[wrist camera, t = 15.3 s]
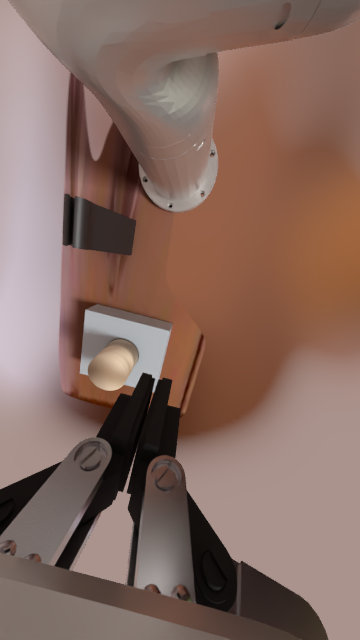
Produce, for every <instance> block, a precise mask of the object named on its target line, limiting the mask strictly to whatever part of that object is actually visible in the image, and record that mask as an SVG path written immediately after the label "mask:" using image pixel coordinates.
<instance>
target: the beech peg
mask: <svg viewBox="0 0 360 640" xmlns="http://www.w3.org/2000/svg"><path fill="white" fill-rule="evenodd" d="M138 359H139V351H138V349H137V347H136V345H135V344H134V343H133V342H131V341H130V340H128V339H125V338H117V339H114V340H112V341H111V342H110V343H109V344H108V345H107V346H106V347H105V348H104V349H103V350H102V351H101V352H100V353H99V354H98V355H97V356H96V357H95V358H94V359H93V360H92V361H91V362H90V363H89V366H88V375H89V378H90V380H91V381H92V382H93V383H94V384H95V385H96V386H97V387H99V388H101V389H104V390H109V391H112V390H117V389H119V388H121V387H122V386H123V385H124V383H125V382H126V380H127V378H128V376H129V375H130V373H131V371H132V370H133V368H134V366H135V364H136V363H137V361H138Z"/></svg>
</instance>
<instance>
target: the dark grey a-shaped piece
mask: <svg viewBox="0 0 360 640" xmlns="http://www.w3.org/2000/svg"><path fill="white" fill-rule="evenodd" d="M135 225H136V221H135V220H133V219H130V218H128V217H125V216H123V215H120V214H118V213H115V212H113V211H111V210H108V209H106V208H103V207H101V206H98V205H96V204H94V203H92V202H90V201H88V200H86V199H83V198H80V197H77V196H75V198H72V197H70V195H69V194H65V197H64V224H63V245H65V246H68V245H72V247H74V248H79V249H85V250H96V251H103V252H110V253H117V254H125V255H131V253H132V246H133V239H134V232H135Z"/></svg>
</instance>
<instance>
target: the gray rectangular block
mask: <svg viewBox="0 0 360 640" xmlns="http://www.w3.org/2000/svg"><path fill="white" fill-rule="evenodd" d="M172 324H173V323H170V322H166V321H162V320H158V319H154V318H150V317H146V316H142V315H138V314H134V313H130V312H127V311H123V310H119V309H115V308H111V307H107V306H103V305H99V304H96V305H94V306H92V307H90V308H88V309H86V310H85V320H84V331H83V343H82V354H81V366H80V373H81V374H85V375H88V366H89V363H90V362H91V361H92V360H93V359H94V358H95V357H96V356H97V355H98V354H99V353H100V352H101V351H102V350H103V349H104V348H105V347H106V346H107V345H108V344H109V343H110V342H111V341H112V340H114V339H117V338H125V339H128V340H130V341H131V342H133V343H134V344H135V345H136V347H137V349H138V351H139V359H138V361H137V363H136V364H135V366H134V368H133V370H132V371H131V373H130V375H129V376H128V378H127V380H126V382H125V383H124V385H127V386H131V387H136V385H137V383H138V381H139V379H140V377H141V375H142V373H147V374H151V375H152V378H155V383H154V387H153V391H152V392H154V391H155V388H156V385H157V382H158V379H159V378H160V374H161V370H162V366H163V362H164V357H165V353H166V349H167V345H168V341H169V337H170V333H171V329H172Z"/></svg>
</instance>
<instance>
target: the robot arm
mask: <svg viewBox="0 0 360 640" xmlns="http://www.w3.org/2000/svg"><path fill="white" fill-rule="evenodd" d="M8 1H9V2H10V4H11V5H12V6H13V7H14V9H15V10H16V11H17V12H18V14H19V15H20V16H21V17H22V19H23V20H24V21H25V22H26V23H27V25H28V26H29V27H30V28H31V30H32V31H33V32H34V33H35V34H36V36H37V37H38V38H39V39H40V41H41V42H42V43H43V44H44V45H45V46H46V47H47V48H48V49H49V50H50V52H51V53H52V54H53V55H54V56H55V57H56V58H57V59H58V60H59V61H60V62H61V63H62V64H63V65H64V66H65V67H66V68H67V69H68V70H69V71H70V72H71V73H72V74H73V75H74V76H75V77H76V78H77V79H78V80H79V81H80V82H82V83H83V84H84V85H85V86H86V87H87V88H88V89H89V90H90V91H91V92H92V93H93V94H94V95H95V96H96V98H97V99H98V100H99V101H100V102H101V104H102V105H103V107H104V108H105V109H106V111H107V112H108V114H109V115H110V117H111V118H112V120H113V122H114V123H115V125H116V126H117V128H118V130H119V131H120V133H121V134H122V136H123V138H124V139H125V141H126V143H127V144H128V146H129V148H130V149H131V151H132V152H133V154H134V156H135V157H136V159H137V161H138V162H139V175H140V179H141V183H142V185H143V188H144V190H145V192H146V193H147V195H148V196H149V198H150V199H151V200H152V201H153V202H154V203H155V204H156V205H157V206H158V207H160V208H162V209H164V210H166V211H169V212H175V213H181V212H187V211H189V210H192V209H194V208H196V207H197V206H199V205H200V204H201V203H202V202H203V201H204V200H205V199H206V198H207V196H208V195H209V194H210V192H211V190H212V188H213V186H214V183H215V180H216V176H217V171H218V154H217V150H216V146H215V143H214V141H213V139H212V131H213V123H214V115H215V114H214V113H215V106H216V100H217V91H218V81H219V61H218V53H217V52H220V51H227V50H233V49H239V48H246V47H253V46H260V45H266V44H273V43H279V42H285V41H292V40H293V39H300V38H306V37H312V36H316V35H320V34H324V33H328V32H332V31H335V30H337V29H340V28H343V27H345V26H347V25H349V24H351V23H353V22H355V21H357V20H359V19H360V0H8ZM210 155H213V157H211V156H210ZM146 180H148V181H147V182H145V181H146ZM201 194H204V196H203V197H201ZM170 205H172V208H169V206H170ZM154 383H155V378H152V375H151V374H147V373H142V375H141V377H140V379H139V381H138V383H137V385H136V387H135V390H134V392H133V394H132V396H130V395H126V394H122V393H121V394H120V395H119V397H118V399H117V401H116V402H115V404H114V406H113V408H112V409H111V411H110V413H109V415H108V417H107V418H106V420H105V422H104V424H103V426H102V427H101V429H100V431H99V433H98V434H97V436H96V438H88V439H85V440H83V441H82V442H80V443H79V444H78V445H76V446H75V447H74V448H73V450H72V451H71V452H70V453H69V454H68V456H67V457H66V458H65V459H64V460H63V461H62V462H60V463H57V464H55V465H53V466H51V467H49V468H46V469H44V470H42V471H40V472H38V473H35V474H33V475H31V476H29V477H27V478H24V479H22V480H20V481H18V482H16V483H13V484H11V485H9V486H7V487H5V488H3V489H0V640H328V637H327V633H326V630H325V628H324V626H323V624H322V622H321V620H320V618H319V617H318V615H317V613H316V612H315V611H314V609H313V608H312V607H311V605H310V604H309V603H308V602H307V601H305V600H304V599H303V598H302V597H301V596H299V595H297V594H296V593H294V592H293V591H291V590H289V589H288V588H286V587H284V586H282V585H281V584H279V583H278V582H276V581H274V580H273V579H271V578H269V577H268V576H266V575H264V574H263V573H261V572H259V571H258V570H256V569H255V568H253V567H251V566H249V565H248V564H246V563H245V562H243V561H241V562H240V563H238V562H236V561H235V560H233V559H232V558H231V557H230V555H229V553H228V551H227V550H226V548H225V547H224V545H223V544H222V542H221V541H220V539H219V538H218V536H217V535H216V533H215V532H214V530H213V529H212V527H211V526H210V524H209V523H208V521H207V520H206V518H205V517H204V515H203V514H202V512H201V511H200V509H199V508H198V506H197V505H196V503H195V502H194V500H193V499H192V497H191V496H190V494H189V493H188V491H187V489H186V477H185V472H184V469H183V467H182V465H181V464H180V463H179V462H178V461H177V460H176V459H175V456H176V446H177V437H178V427H179V418H180V408H176V407H172V406H169V405H167V404H168V399H169V394H170V389H171V384H172V380H170V379H167V378H163V379H162V380H159V379H158V382H157V385H156V388H155V391H154V395H153V398H152V401H151V404H150V399H151V395H152V391H153V387H154ZM149 404H150V407H149ZM148 408H149V410H148ZM147 412H148V414H147ZM146 416H147V417H146ZM137 446H138V447H137ZM136 449H137V451H136ZM135 452H136V455H135ZM134 455H135V460H134V464H133V468H132V473H131V477H130V482H129V486H128V490H127V493H128V494H131V497H130V501H129V505H128V511H129V513H130V515H131V517H132V519H133V526H132V535H131V543H130V552H129V559H128V567H127V575H126V583H125V585H124V584H120V583H116V582H112V581H109V580H105V579H101V578H97V577H93V576H89V575H86V574H82V573H78V572H74V571H72V570H73V568H74V566H75V564H76V562H77V560H78V558H79V557H80V554H81V553H82V550H83V549H84V547H85V545H86V543H87V541H88V539H89V537H90V535H91V533H92V531H93V529H94V527H95V525H96V523H97V521H98V519H99V517H100V514H101V512H102V511H103V510H104V509H106V508H107V507H109V506H110V505H112V502H113V500H115V499H116V496H117V493H118V491H121V492H123V490H124V487H125V484H126V481H127V478H128V474H129V471H130V468H131V465H132V462H133V458H134Z"/></svg>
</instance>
